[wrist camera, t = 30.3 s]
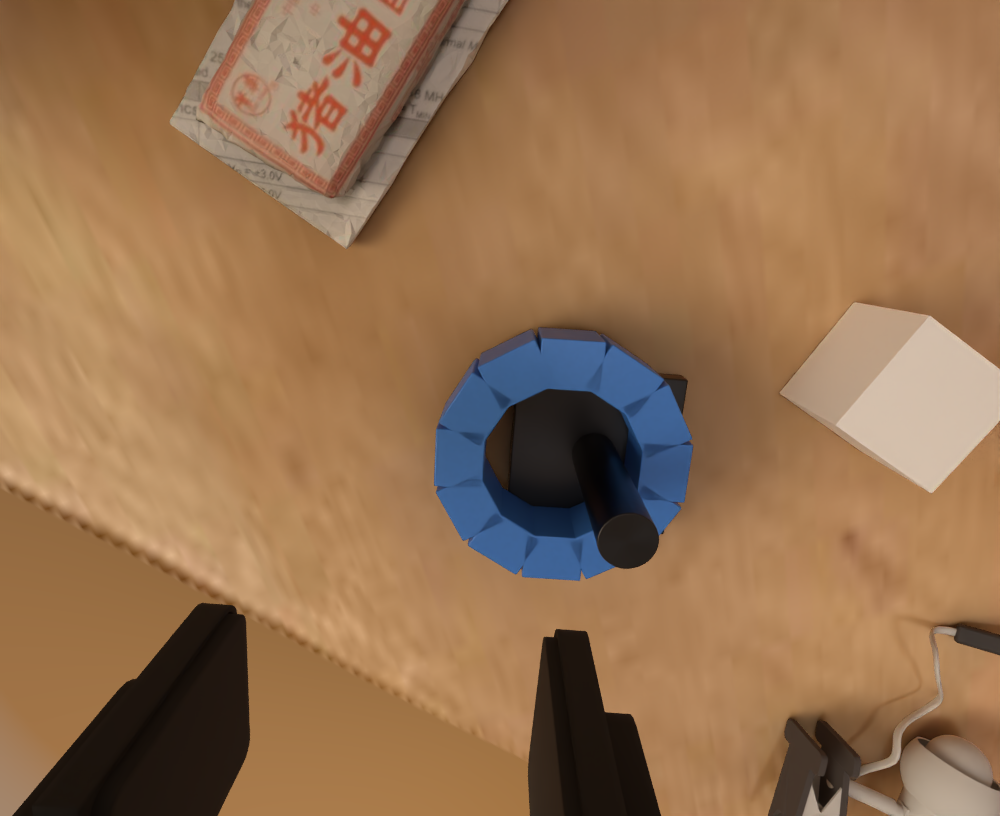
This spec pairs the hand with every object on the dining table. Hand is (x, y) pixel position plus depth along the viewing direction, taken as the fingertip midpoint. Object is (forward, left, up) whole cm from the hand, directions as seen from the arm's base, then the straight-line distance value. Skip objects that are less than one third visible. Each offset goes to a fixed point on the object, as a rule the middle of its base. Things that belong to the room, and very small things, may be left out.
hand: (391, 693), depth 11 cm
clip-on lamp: (+28, -20, -24) cm, 42 cm away
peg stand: (+7, -3, -24) cm, 25 cm away
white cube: (+21, +2, -24) cm, 32 cm away
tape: (+5, -3, -23) cm, 23 cm away
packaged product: (-6, +17, -24) cm, 30 cm away
